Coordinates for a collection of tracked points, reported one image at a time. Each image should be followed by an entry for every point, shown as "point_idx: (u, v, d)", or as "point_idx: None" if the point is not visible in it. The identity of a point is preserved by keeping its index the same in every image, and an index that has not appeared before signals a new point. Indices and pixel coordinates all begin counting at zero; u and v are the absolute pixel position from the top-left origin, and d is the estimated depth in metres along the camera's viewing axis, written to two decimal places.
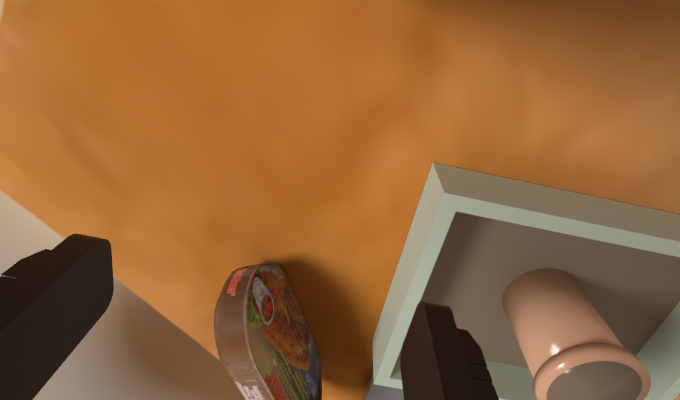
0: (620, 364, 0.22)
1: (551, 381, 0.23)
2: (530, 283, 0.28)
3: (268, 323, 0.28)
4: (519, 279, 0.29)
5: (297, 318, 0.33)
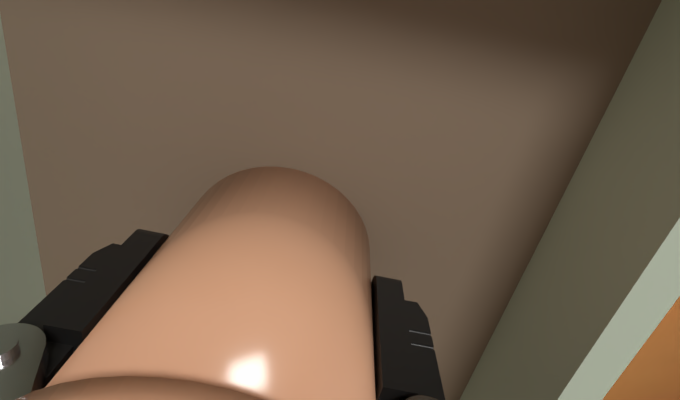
0: None
1: None
2: (353, 225, 0.10)
3: None
4: (340, 197, 0.11)
5: None
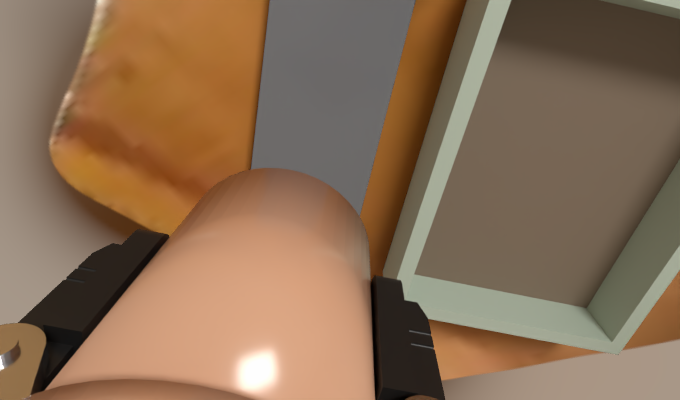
0: None
1: None
2: (352, 226, 0.11)
3: None
4: (340, 198, 0.11)
5: None
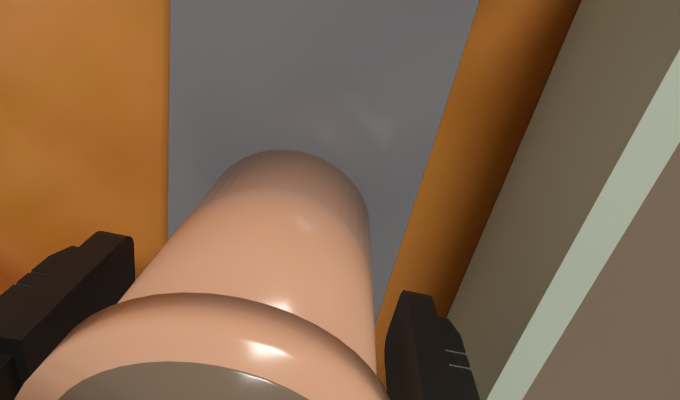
0: None
1: (227, 362, 0.05)
2: (355, 201, 0.12)
3: None
4: (343, 177, 0.12)
5: None
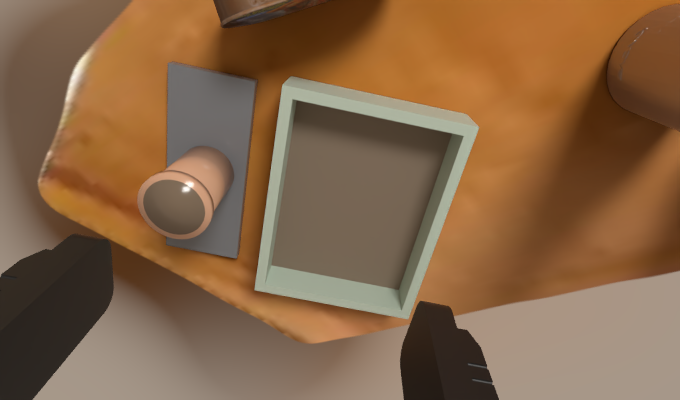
0: (204, 216, 0.34)
1: (176, 180, 0.33)
2: (223, 161, 0.39)
3: None
4: (222, 154, 0.40)
5: None
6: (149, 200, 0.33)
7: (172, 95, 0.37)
